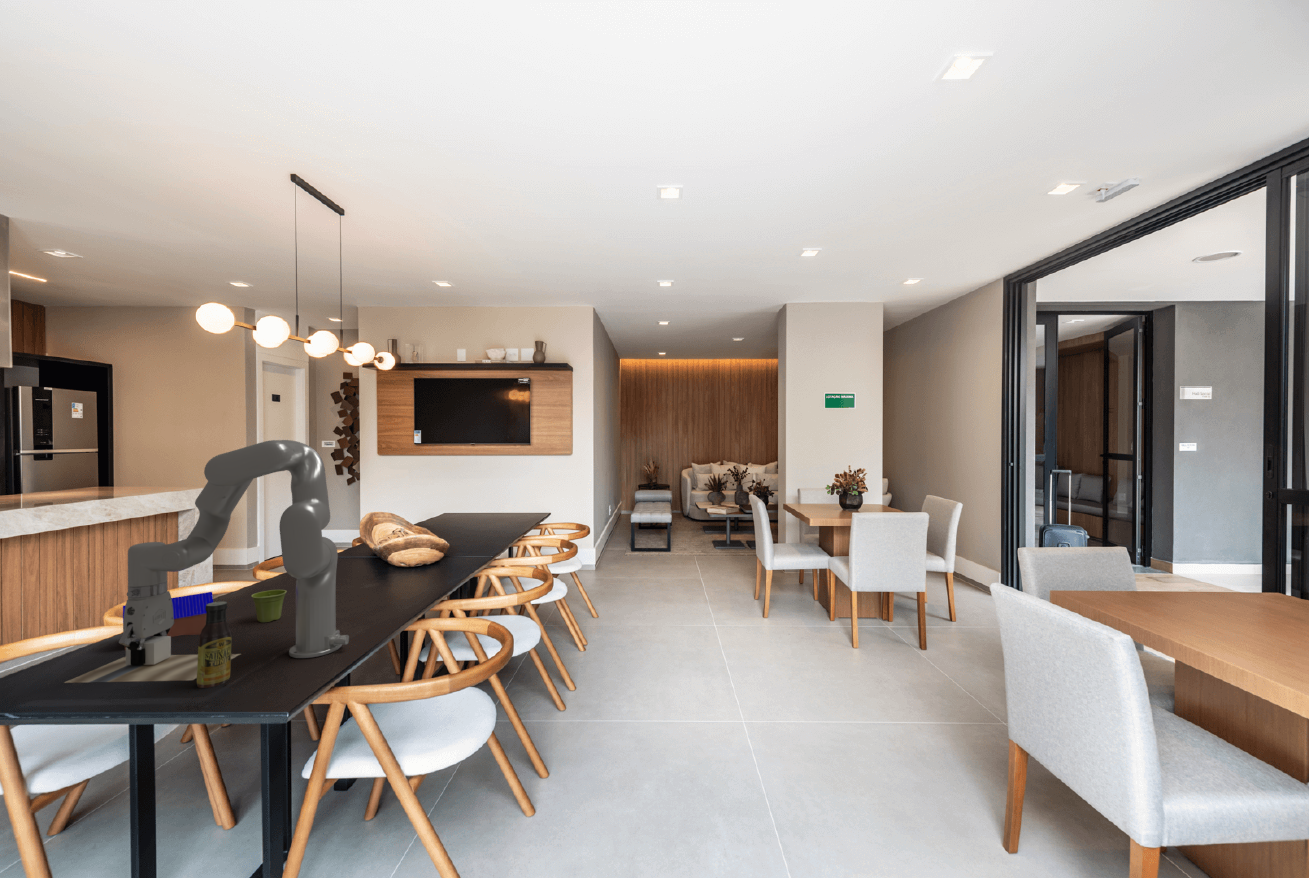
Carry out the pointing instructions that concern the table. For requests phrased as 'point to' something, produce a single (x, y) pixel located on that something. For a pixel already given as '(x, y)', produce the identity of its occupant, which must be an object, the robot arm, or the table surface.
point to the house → (188, 614)
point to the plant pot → (269, 604)
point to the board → (145, 671)
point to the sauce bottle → (214, 647)
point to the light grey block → (153, 649)
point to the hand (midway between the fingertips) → (148, 659)
